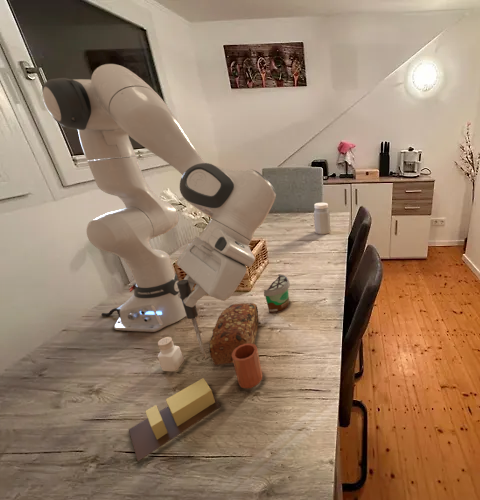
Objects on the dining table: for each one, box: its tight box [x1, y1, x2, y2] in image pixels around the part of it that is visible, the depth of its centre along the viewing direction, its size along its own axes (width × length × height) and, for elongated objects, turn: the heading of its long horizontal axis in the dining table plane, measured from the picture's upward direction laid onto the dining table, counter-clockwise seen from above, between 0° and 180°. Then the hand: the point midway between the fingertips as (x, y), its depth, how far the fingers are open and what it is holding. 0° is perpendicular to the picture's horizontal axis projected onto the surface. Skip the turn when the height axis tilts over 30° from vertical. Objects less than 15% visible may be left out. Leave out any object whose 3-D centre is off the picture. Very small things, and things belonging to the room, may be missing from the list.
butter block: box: [165, 377, 215, 426], centre depth 63 cm, size 8×5×4 cm, turn 135°
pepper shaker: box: [157, 336, 185, 372], centre depth 74 cm, size 4×4×10 cm
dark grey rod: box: [177, 279, 208, 359], centre depth 58 cm, size 2×2×18 cm
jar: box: [313, 202, 331, 235], centre depth 171 cm, size 10×10×18 cm
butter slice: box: [144, 404, 168, 439], centre depth 59 cm, size 2×5×4 cm, turn 46°
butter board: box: [128, 394, 222, 462], centre depth 62 cm, size 16×9×1 cm, turn 135°
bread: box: [208, 302, 260, 366], centre depth 83 cm, size 19×11×10 cm, turn 9°
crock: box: [232, 343, 263, 389], centre depth 70 cm, size 6×6×10 cm
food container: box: [263, 273, 291, 314], centre depth 100 cm, size 12×6×10 cm, turn 168°
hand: (184, 301), depth 55 cm, fingers closed on dark grey rod, 2 cm apart
